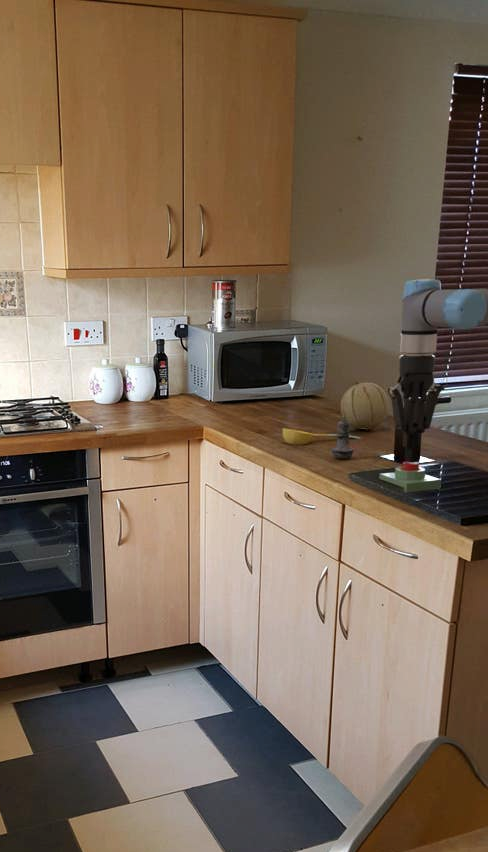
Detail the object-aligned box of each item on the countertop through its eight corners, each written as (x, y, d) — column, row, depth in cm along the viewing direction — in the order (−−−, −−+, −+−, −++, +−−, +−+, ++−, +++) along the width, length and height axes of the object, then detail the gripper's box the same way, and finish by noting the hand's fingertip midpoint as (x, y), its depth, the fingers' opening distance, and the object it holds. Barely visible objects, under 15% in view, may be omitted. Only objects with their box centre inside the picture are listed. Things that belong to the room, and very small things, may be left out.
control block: (440, 489, 196) (441, 471, 195) (406, 493, 194) (407, 475, 192) (412, 479, 206) (413, 462, 205) (378, 483, 204) (379, 466, 202)
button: (421, 471, 198) (422, 463, 197) (408, 472, 197) (408, 465, 196) (412, 468, 201) (412, 460, 200) (398, 469, 200) (399, 462, 199)
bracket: (435, 466, 220) (439, 410, 216) (404, 469, 217) (408, 413, 213) (407, 457, 231) (411, 405, 226) (378, 460, 228) (381, 407, 224)
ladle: (274, 442, 252) (278, 422, 251) (354, 456, 261) (359, 436, 259) (287, 446, 244) (291, 425, 243) (369, 460, 252) (374, 440, 251)
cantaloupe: (389, 433, 266) (391, 383, 261) (340, 433, 269) (341, 384, 264) (386, 425, 280) (388, 378, 275) (339, 425, 283) (341, 378, 278)
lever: (452, 403, 208) (450, 393, 208) (432, 405, 206) (430, 395, 206) (416, 421, 222) (414, 412, 222) (397, 423, 221) (396, 414, 221)
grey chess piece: (330, 464, 225) (332, 418, 221) (330, 460, 230) (332, 414, 226) (354, 465, 224) (356, 418, 220) (353, 460, 229) (355, 414, 225)
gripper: (432, 351, 196) (425, 455, 204) (382, 354, 192) (376, 460, 200) (453, 353, 189) (445, 461, 197) (401, 357, 185) (395, 466, 193)
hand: (410, 460), depth 198 cm, fingers closed
